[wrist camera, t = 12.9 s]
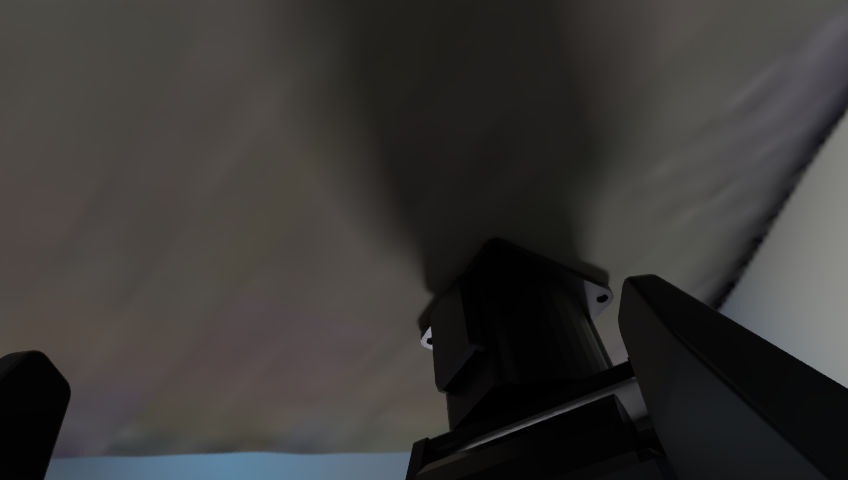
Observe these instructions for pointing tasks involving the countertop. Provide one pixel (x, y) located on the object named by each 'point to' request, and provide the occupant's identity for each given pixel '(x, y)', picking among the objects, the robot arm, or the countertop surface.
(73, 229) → the countertop surface
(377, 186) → the countertop surface
